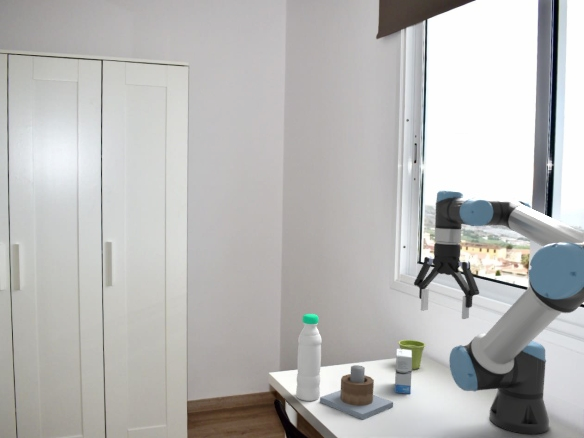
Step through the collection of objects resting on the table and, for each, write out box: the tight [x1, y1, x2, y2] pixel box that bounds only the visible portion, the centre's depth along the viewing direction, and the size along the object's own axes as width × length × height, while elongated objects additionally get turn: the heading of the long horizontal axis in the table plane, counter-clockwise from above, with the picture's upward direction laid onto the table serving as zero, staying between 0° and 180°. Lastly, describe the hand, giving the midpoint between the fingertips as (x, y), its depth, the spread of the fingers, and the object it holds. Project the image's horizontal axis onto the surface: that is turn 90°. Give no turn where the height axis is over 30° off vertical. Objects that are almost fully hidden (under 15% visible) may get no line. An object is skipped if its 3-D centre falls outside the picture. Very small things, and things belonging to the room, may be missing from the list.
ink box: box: [394, 348, 413, 395], centre depth 175 cm, size 8×5×12 cm, turn 168°
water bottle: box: [295, 313, 323, 402], centre depth 165 cm, size 7×7×25 cm
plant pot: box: [398, 339, 426, 370], centre depth 198 cm, size 9×9×9 cm
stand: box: [319, 364, 394, 420], centre depth 160 cm, size 16×14×11 cm
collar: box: [340, 373, 375, 406], centre depth 161 cm, size 9×9×6 cm
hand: (444, 314), depth 163 cm, fingers open, 13 cm apart
